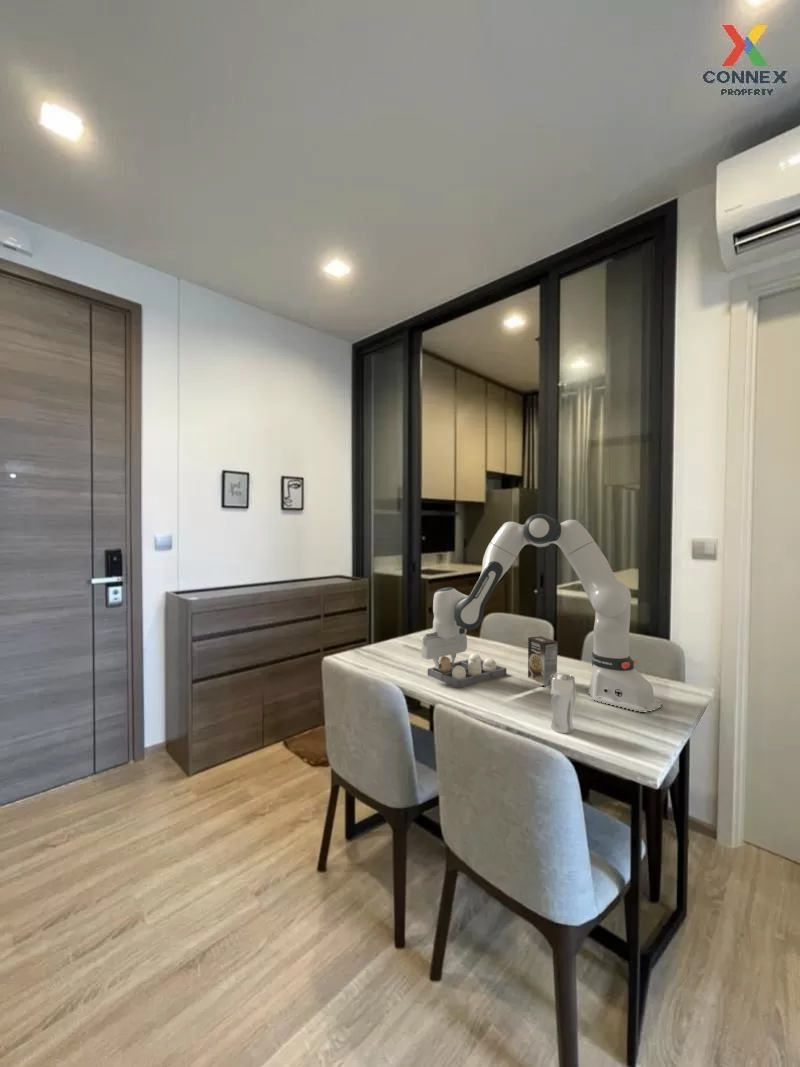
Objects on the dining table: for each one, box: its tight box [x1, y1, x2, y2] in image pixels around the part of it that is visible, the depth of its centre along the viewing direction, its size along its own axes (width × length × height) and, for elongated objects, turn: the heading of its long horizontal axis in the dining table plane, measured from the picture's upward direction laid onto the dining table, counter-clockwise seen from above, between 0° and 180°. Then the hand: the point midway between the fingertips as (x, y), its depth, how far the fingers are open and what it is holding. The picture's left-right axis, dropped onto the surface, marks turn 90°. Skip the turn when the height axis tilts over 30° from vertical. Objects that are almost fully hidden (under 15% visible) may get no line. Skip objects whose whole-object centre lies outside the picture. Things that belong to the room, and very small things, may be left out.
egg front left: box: [452, 665, 466, 680], centre depth 168 cm, size 5×5×6 cm
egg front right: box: [483, 657, 497, 671], centre depth 178 cm, size 5×5×6 cm
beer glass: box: [549, 672, 577, 734], centre depth 132 cm, size 7×7×15 cm
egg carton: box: [427, 659, 507, 689], centre depth 176 cm, size 17×25×4 cm
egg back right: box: [468, 652, 482, 665], centre depth 184 cm, size 5×5×6 cm
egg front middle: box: [468, 662, 481, 675], centre depth 173 cm, size 5×5×6 cm
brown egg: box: [438, 656, 451, 674], centre depth 175 cm, size 5×5×6 cm
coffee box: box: [527, 636, 558, 688], centre depth 171 cm, size 9×6×16 cm
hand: (444, 666), depth 175 cm, fingers closed on brown egg, 5 cm apart
